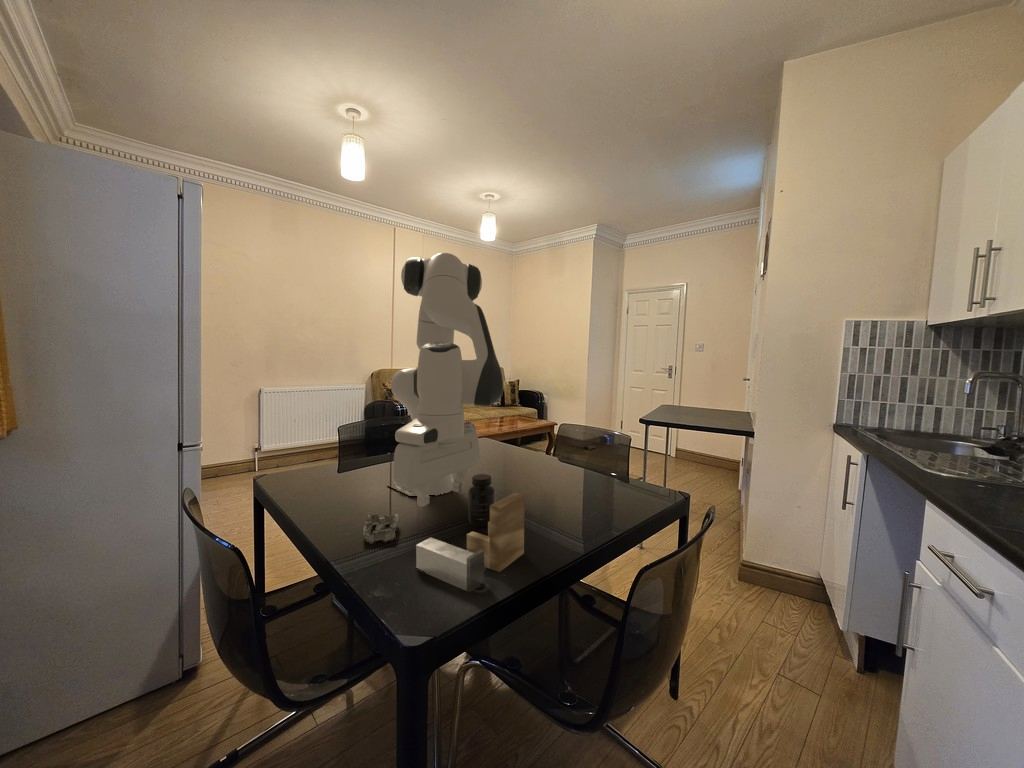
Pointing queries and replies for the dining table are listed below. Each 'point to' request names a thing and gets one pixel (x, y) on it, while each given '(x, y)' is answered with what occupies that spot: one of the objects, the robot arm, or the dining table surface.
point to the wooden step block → (501, 533)
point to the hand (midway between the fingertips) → (441, 497)
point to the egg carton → (380, 527)
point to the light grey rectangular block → (451, 563)
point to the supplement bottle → (480, 500)
